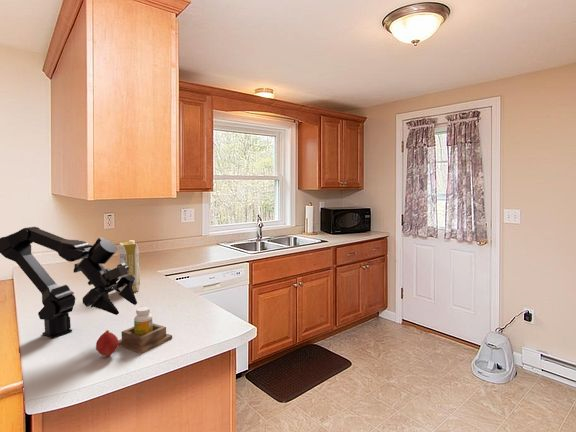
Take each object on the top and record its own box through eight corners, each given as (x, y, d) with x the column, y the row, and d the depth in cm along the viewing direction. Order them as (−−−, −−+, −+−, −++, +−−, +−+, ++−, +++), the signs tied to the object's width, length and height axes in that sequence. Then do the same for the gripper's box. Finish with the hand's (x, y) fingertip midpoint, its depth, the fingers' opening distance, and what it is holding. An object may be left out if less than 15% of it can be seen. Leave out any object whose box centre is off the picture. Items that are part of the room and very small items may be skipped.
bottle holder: (141, 353, 105) (140, 340, 105) (115, 344, 111) (115, 332, 110) (172, 338, 115) (171, 326, 115) (147, 330, 121) (146, 319, 121)
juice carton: (141, 291, 166) (139, 241, 164) (122, 294, 162) (120, 242, 160) (136, 286, 174) (135, 238, 172) (119, 289, 169) (117, 240, 167)
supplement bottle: (131, 341, 110) (130, 311, 110) (139, 334, 116) (139, 305, 115) (147, 342, 110) (147, 312, 109) (155, 335, 115) (155, 306, 115)
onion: (91, 359, 101) (90, 332, 101) (108, 350, 107) (107, 324, 106) (107, 362, 99) (105, 335, 99) (123, 353, 105) (122, 327, 104)
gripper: (89, 262, 104) (124, 302, 102) (129, 251, 122) (159, 284, 121) (67, 287, 106) (101, 326, 105) (110, 272, 124) (139, 305, 123)
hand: (127, 308), depth 113 cm, fingers open, 9 cm apart
